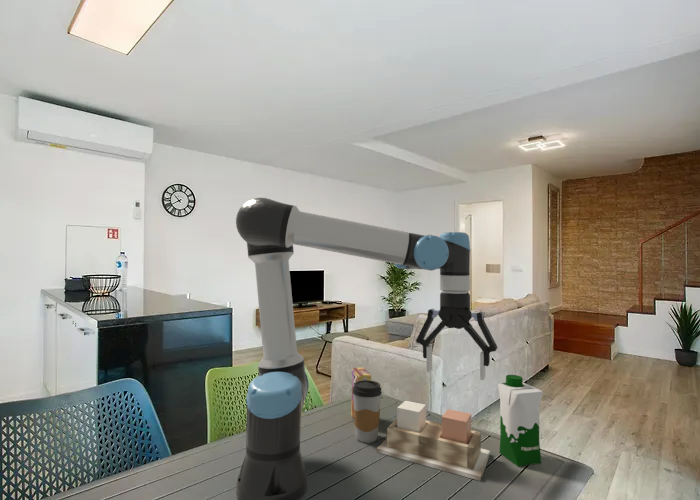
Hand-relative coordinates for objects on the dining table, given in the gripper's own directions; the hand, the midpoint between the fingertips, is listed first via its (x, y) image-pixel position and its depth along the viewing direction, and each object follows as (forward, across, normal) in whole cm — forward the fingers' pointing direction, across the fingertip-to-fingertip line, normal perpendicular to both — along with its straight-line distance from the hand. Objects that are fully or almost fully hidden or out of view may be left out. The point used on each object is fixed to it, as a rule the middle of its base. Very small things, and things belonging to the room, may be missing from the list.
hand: (455, 374), depth 98 cm
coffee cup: (+21, +25, +2) cm, 32 cm away
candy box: (+21, +32, -8) cm, 39 cm away
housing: (+21, +6, +1) cm, 22 cm away
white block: (+17, +12, +1) cm, 20 cm away
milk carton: (+21, -14, -8) cm, 27 cm away
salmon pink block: (+17, 0, +1) cm, 17 cm away
